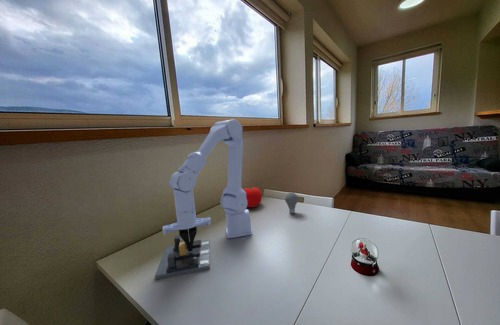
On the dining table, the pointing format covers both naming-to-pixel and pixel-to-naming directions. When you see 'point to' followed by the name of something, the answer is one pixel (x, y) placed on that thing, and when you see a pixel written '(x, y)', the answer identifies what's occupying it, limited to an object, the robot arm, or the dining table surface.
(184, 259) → the breaker panel
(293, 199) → the light bulb
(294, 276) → the dining table surface
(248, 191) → the tomato
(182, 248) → the breaker
